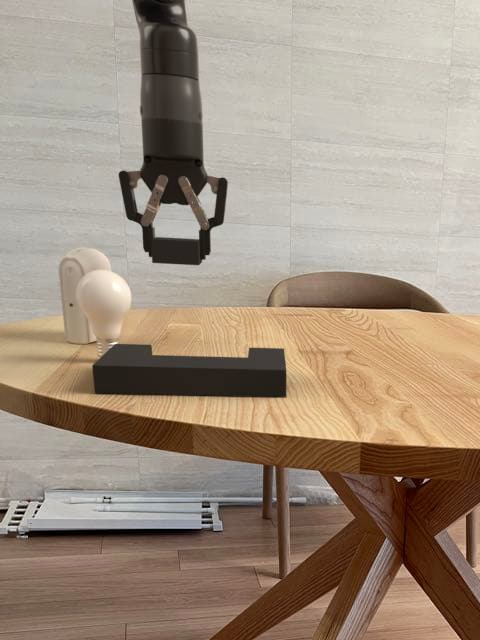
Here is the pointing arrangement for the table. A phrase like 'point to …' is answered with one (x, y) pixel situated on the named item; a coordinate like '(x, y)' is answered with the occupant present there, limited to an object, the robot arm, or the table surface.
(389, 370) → the table surface
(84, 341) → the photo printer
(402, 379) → the table surface
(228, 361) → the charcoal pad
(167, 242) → the black block
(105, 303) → the lightbulb
